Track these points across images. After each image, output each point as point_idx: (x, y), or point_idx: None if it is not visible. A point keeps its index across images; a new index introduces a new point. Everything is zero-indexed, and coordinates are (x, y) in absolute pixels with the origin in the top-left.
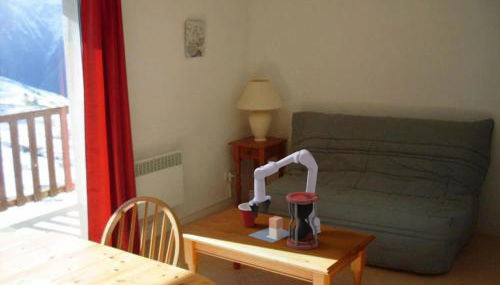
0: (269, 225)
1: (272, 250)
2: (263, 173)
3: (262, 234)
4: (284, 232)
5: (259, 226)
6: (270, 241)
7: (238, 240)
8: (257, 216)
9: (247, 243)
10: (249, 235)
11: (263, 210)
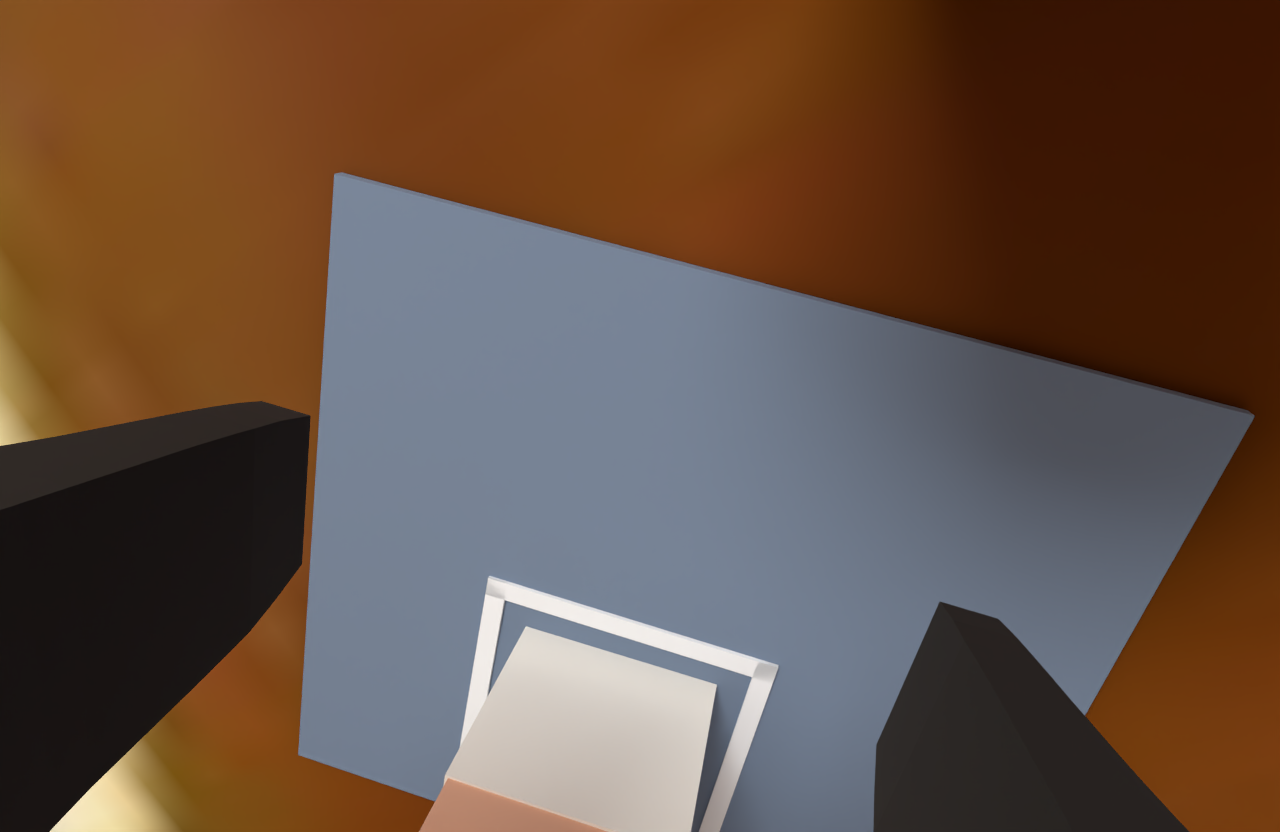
0: (423, 826)
1: (102, 829)
2: None
3: (561, 458)
4: None
5: (1191, 45)
6: (329, 722)
7: (20, 138)
8: (272, 600)
9: (38, 394)
10: (348, 220)
11: (973, 718)
